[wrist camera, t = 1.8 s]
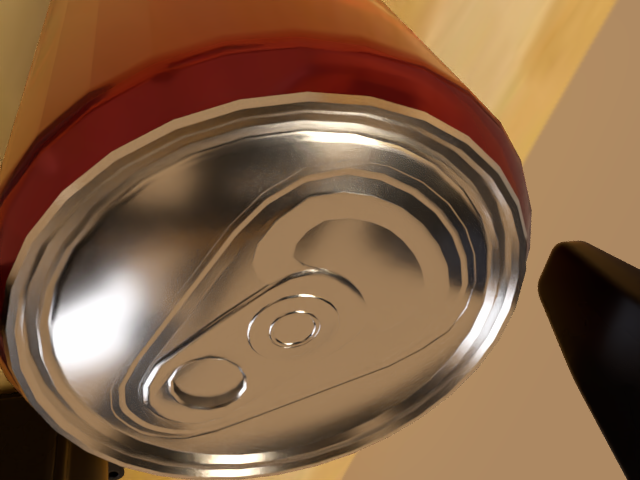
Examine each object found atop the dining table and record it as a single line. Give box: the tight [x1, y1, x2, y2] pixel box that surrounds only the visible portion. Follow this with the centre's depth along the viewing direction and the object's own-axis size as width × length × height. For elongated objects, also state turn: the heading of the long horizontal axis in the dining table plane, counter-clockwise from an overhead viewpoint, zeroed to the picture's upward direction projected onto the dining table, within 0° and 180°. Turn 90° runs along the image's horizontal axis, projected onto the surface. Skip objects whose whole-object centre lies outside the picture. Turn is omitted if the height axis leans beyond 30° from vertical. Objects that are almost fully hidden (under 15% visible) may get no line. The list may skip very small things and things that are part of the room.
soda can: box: [0, 0, 531, 480], centre depth 12 cm, size 7×7×12 cm
